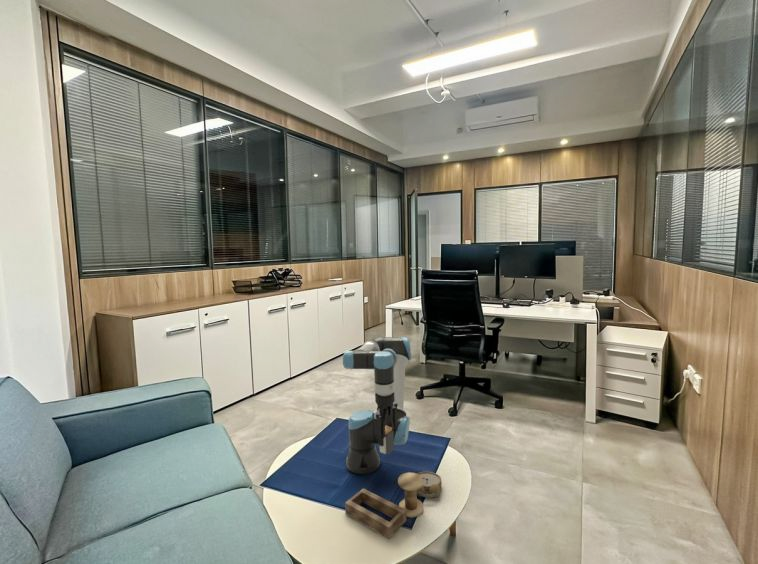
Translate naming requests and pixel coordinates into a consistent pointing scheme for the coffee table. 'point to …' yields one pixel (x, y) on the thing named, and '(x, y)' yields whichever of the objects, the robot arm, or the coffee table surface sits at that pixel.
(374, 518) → the open rectangular wooden frame
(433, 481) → the alarm clock
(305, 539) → the coffee table surface
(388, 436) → the grey upright block
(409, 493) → the bobbin
